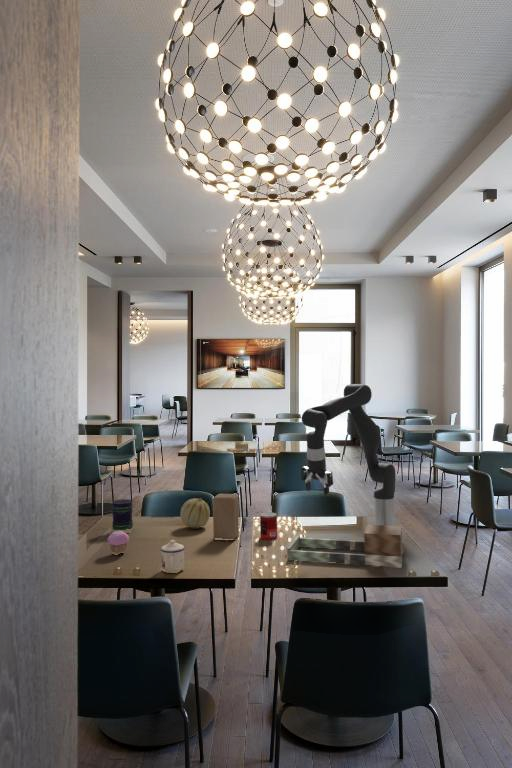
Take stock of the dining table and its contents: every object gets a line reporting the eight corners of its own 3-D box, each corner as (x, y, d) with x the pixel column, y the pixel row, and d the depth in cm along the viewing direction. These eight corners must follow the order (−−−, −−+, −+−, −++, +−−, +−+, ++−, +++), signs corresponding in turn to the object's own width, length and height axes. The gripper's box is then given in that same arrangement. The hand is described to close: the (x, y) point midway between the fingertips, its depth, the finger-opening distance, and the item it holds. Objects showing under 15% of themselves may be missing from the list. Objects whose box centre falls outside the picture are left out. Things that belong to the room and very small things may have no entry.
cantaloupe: (180, 525, 306) (180, 495, 305) (209, 523, 307) (209, 494, 307) (180, 532, 291) (179, 501, 291) (210, 531, 293) (210, 500, 292)
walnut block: (401, 555, 248) (401, 526, 248) (401, 565, 235) (400, 535, 235) (367, 553, 252) (367, 524, 252) (364, 563, 238) (364, 533, 238)
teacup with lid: (162, 567, 238) (161, 537, 238) (185, 566, 239) (184, 537, 238) (159, 577, 226) (158, 546, 226) (183, 576, 227) (183, 545, 226)
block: (234, 541, 273) (233, 497, 272) (213, 541, 275) (212, 497, 274) (239, 536, 282) (238, 493, 282) (218, 535, 284) (217, 493, 284)
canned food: (279, 536, 281) (278, 512, 281) (274, 540, 273) (273, 516, 273) (263, 535, 283) (263, 511, 283) (258, 539, 276) (257, 515, 276)
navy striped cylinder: (110, 530, 296) (110, 500, 296) (130, 528, 301) (129, 498, 300) (114, 535, 287) (114, 504, 287) (135, 533, 292) (134, 502, 291)
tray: (403, 552, 251) (403, 540, 251) (402, 567, 231) (401, 554, 231) (297, 546, 263) (297, 535, 263) (287, 560, 243) (287, 548, 243)
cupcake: (122, 550, 262) (121, 527, 262) (133, 554, 256) (132, 530, 256) (104, 554, 256) (103, 531, 256) (115, 558, 250) (114, 534, 250)
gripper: (335, 456, 248) (336, 492, 252) (306, 450, 256) (308, 485, 261) (326, 463, 242) (327, 499, 246) (296, 456, 251) (298, 492, 255)
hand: (317, 492), depth 254 cm, fingers open, 8 cm apart
